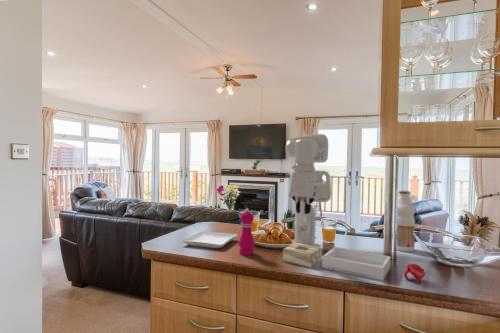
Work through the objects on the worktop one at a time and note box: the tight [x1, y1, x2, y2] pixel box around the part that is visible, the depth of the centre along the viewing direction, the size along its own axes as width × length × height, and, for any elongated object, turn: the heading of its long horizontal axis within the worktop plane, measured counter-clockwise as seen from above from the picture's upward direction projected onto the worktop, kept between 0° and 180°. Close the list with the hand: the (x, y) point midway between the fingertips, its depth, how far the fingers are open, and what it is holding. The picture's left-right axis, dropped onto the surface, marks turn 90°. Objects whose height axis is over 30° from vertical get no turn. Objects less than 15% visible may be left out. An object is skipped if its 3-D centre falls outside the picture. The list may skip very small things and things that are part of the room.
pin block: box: [282, 243, 322, 268], centre depth 126 cm, size 12×12×5 cm
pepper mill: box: [238, 208, 256, 256], centre depth 134 cm, size 7×7×20 cm
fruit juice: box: [396, 190, 416, 253], centre depth 145 cm, size 9×9×28 cm
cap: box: [403, 263, 426, 284], centre depth 106 cm, size 8×6×6 cm
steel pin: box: [298, 196, 307, 231], centre depth 126 cm, size 5×5×15 cm
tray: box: [321, 246, 392, 282], centre depth 118 cm, size 16×22×4 cm
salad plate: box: [181, 231, 238, 249], centre depth 151 cm, size 21×21×3 cm
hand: (303, 212), depth 126 cm, fingers closed on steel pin, 3 cm apart
